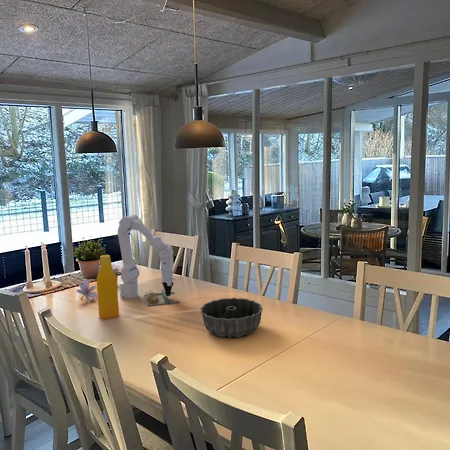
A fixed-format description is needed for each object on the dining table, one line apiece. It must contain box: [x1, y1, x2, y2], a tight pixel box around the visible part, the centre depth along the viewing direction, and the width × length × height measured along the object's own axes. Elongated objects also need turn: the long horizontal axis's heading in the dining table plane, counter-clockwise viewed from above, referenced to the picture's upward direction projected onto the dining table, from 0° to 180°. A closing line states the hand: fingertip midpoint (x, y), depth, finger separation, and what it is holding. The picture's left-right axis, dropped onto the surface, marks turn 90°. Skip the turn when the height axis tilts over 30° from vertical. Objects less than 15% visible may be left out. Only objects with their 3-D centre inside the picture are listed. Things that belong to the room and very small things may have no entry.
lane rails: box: [143, 291, 180, 307], centre depth 227 cm, size 16×18×2 cm
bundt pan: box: [199, 297, 264, 339], centre depth 186 cm, size 26×26×10 cm
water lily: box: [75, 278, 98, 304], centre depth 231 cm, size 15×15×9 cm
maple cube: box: [145, 289, 157, 302], centre depth 225 cm, size 4×4×4 cm
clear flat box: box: [142, 288, 169, 307], centre depth 226 cm, size 11×15×4 cm
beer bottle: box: [96, 254, 120, 320], centre depth 204 cm, size 9×9×29 cm
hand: (168, 295), depth 227 cm, fingers closed, pressing on clear flat box
